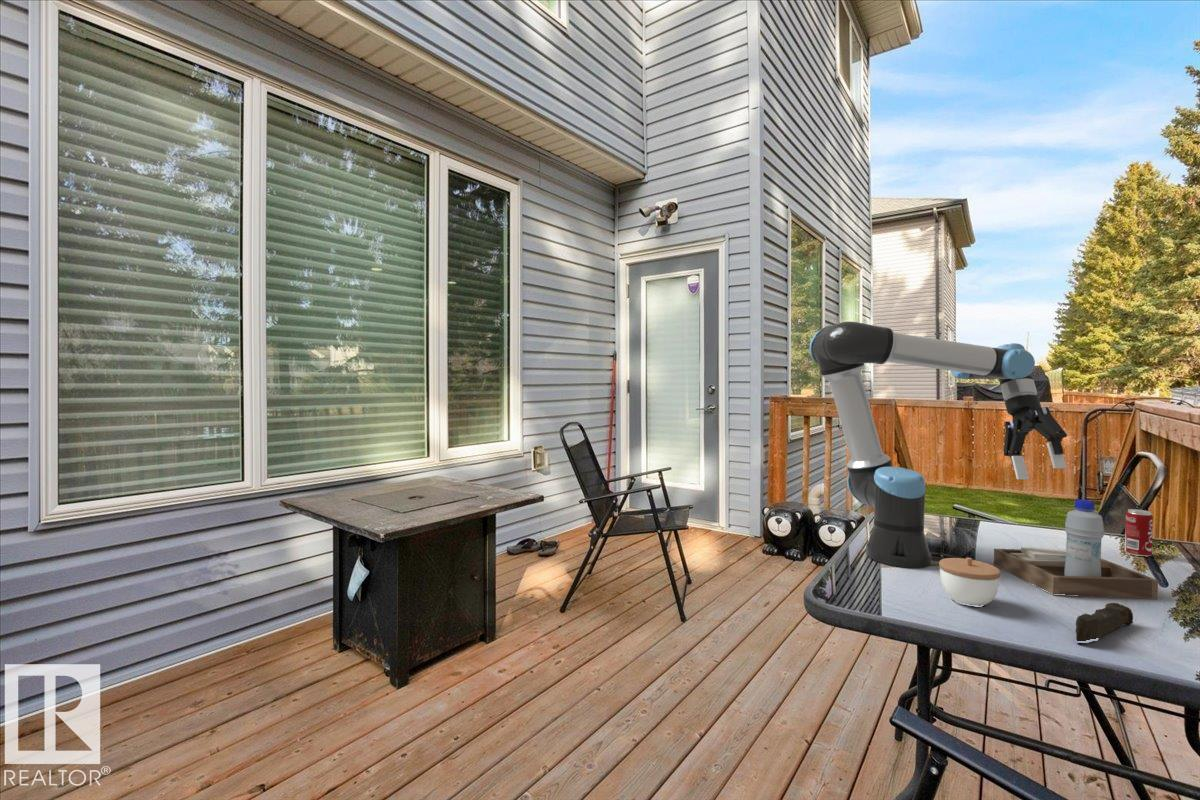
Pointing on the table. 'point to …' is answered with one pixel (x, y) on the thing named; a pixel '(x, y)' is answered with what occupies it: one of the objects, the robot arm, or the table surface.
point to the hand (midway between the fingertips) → (1040, 474)
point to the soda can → (1138, 532)
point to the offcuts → (1042, 556)
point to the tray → (1079, 578)
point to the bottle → (1083, 540)
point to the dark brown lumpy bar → (1102, 621)
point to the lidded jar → (969, 580)
